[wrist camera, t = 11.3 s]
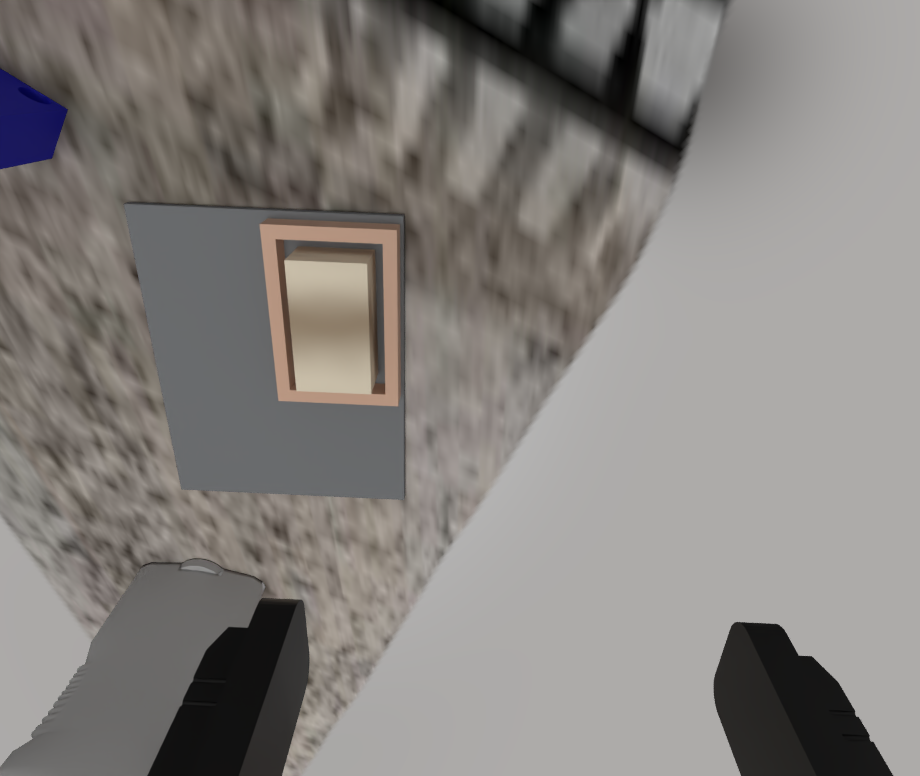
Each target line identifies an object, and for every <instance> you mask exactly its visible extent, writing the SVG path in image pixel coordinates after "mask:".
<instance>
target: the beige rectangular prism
mask: <svg viewBox="0 0 920 776" xmlns="http://www.w3.org/2000/svg"><path fill="white" fill-rule="evenodd" d="M284 264H285V274H286V285H287V296H288V306H289V317H290V328H291V338H292V349H293V359H294V370H295V381H296V391H305V392H327V393H350V394H372V391H373V388H374V385H375V382H376V379H377V375H378V339H377V301H376V262H375V249H351V248H328V247H304V246H298V247H297V248H296V249H295V250H294V251H293V252H292V253H291V254H290V255H289V256H288V257H287V258H286V259H285V260H284Z"/></svg>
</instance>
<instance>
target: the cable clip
mask: <svg viewBox="0 0 920 776" xmlns="http://www.w3.org/2000/svg"><path fill="white" fill-rule="evenodd" d="M67 110H68V109H66V108H64V107H63V106H61V105H59V104H58V103H56V102H55V101H53V100H51V99H50V98H48V97H46V96H45V95H43V94H41V93H40V92H38V91H36V90H35V89H33V88H32V87H30V86H28V85H27V84H25V83H23V82H22V81H20V80H18V79H17V78H15V77H13V76H12V75H10V74H9V73H7V72H5V71H4V70H2V69H0V169H3V168H8V167H13V166H18V165H23V164H27V163H32V162H37V161H42V160H47V159H51V158H52V157H53V153H54V150H55V147H56V144H57V141H58V138H59V135H60V132H61V129H62V126H63V123H64V120H65V116H66V113H67Z"/></svg>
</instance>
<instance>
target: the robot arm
mask: <svg viewBox="0 0 920 776" xmlns="http://www.w3.org/2000/svg"><path fill="white" fill-rule="evenodd" d="M308 673H309V647H308V637H307V627H306V618H305V608H304V603H303V601H302V600H294V599H273V598H262V599H261V600H260V601H259V603H258V604H257V607H256V609H255V611H254V614H253V616H252V619H251V621H250V623H249V626H248V628H244V627H228V628H227V629H226V630H225V631H224V632H223V633H222V634H221V635H220V636H219V637H218V638H217V639H216V640H215V641H214V642H213V643H212V644H211V645H210V646H209V647H208V648H207V649H206V651H205V653H204V655H203V658H202V660H201V662H200V664H199V666H198V668H197V670H196V673H195V675H194V677H193V682H192V683H190V685H189V688H188V690H187V692H186V694H185V696H184V698H183V703H182V706H180V707H179V709H178V711H177V713H176V715H175V717H174V720H173V722H172V724H171V726H170V728H169V730H168V732H167V734H166V737H165V739H164V741H163V743H162V745H161V747H160V749H159V752H158V754H157V756H156V758H155V760H154V762H153V764H152V766H151V769H150V771H149V773H148V775H147V776H282V773H283V770H284V766H285V762H286V759H287V755H288V752H289V748H290V744H291V741H292V737H293V734H294V730H295V726H296V723H297V719H298V715H299V712H300V708H301V705H302V701H303V697H304V694H305V690H306V686H307V680H308ZM714 699H715V704H716V709H717V712H718V715H719V718H720V720H721V723H722V726H723V728H724V731H725V734H726V736H727V739H728V742H729V744H730V747H731V750H732V753H733V755H734V758H735V761H736V763H737V766H738V768H739V771H740V774H741V776H893V775H892V773H891V771H890V769H889V768H888V766H887V765H886V763H885V761H884V759H883V758H882V756H881V754H880V752H879V751H878V749H877V747H876V746H875V744H874V742H871V741H870V739H869V734H868V732H867V730H866V729H865V727H864V725H863V724H862V722H861V720H860V719H859V717H856V715H855V710H854V708H853V707H852V705H851V703H850V702H849V700H848V698H847V696H846V695H845V693H844V691H843V690H842V688H841V686H840V685H839V683H838V682H837V681H836V680H835V679H834V678H833V677H832V676H831V675H830V674H829V673H828V672H827V671H826V670H825V669H824V668H823V667H822V666H821V665H820V664H819V663H818V662H817V661H816V660H815V659H814V658H813V657H812V656H798V654H797V652H796V650H795V648H794V646H793V645H792V643H791V641H790V639H789V637H788V635H787V634H786V632H785V630H784V629H783V628H782V627H781V626H780V625H778V624H766V623H745V622H736V623H734V624H733V625H732V626H731V629H730V632H729V635H728V638H727V641H726V644H725V647H724V650H723V653H722V656H721V659H720V662H719V665H718V668H717V671H716V674H715V678H714Z"/></svg>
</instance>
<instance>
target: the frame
mask: <svg viewBox="0 0 920 776" xmlns="http://www.w3.org/2000/svg"><path fill="white" fill-rule="evenodd" d="M260 233H261V243H262V252H263V261H264V271H265V280H266V289H267V299H268V308H269V317H270V327H271V336H272V345H273V355H274V364H275V373H276V383H277V392H278V401H291V402H313V403H335V404H356V405H378V406H398V405H399V401H400V397H401V333H400V224H384V223H362V222H339V221H317V220H295V219H272V218H267V219H266V220H265V221H263V222H262V223H260ZM284 240H305V241H328V242H350V243H372V244H383V289H384V344H385V384H379V383H375V385H374V388H373V391H372V394H350V393H327V392H305V391H296V381H295V370H294V359H293V349H292V338H291V328H290V317H289V306H288V296H287V285H286V274H285V264H284V260H285V251H284Z"/></svg>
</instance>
